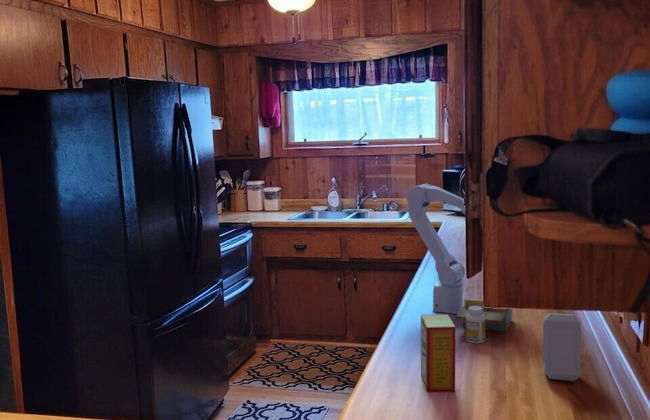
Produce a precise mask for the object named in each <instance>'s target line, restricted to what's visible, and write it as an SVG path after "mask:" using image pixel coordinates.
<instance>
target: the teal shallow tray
mask: <svg viewBox="0 0 650 420" xmlns="http://www.w3.org/2000/svg"><path fill="white" fill-rule="evenodd" d="M506 310H508V314H507V316H506V318H505V319H504V321H503V323H502V325H500V324H491V323H485V330H493V331H499V332H500V331H501V332H506V331H507V330H508V328H509V326H510V324H511V323H512V321H511V320H512V319H513V317H512V316H513V313H512V312H513V308H512V309H506ZM461 321H462V325H461V326H462V327H466V320H461ZM510 322H511V323H510Z"/></svg>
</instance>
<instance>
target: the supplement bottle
mask: <svg viewBox="0 0 650 420" xmlns="http://www.w3.org/2000/svg"><path fill="white" fill-rule="evenodd" d="M468 313H469V314H467V315H466V326H465V340H466V341H467V342H469V343H471V344H482V343H485V341H486V329H485V316H484V315H483V314H482V313H483V308H482V307H480V306H470V307H469V308H468Z"/></svg>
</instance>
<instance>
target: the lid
mask: <svg viewBox="0 0 650 420" xmlns="http://www.w3.org/2000/svg"><path fill="white" fill-rule="evenodd" d="M483 300H484V299H477V298H468V297H467V298H465V299H464V305H463V307H462V309H461V310H460V311H459V312H458V314H455V316H454V318H455V320H458V321H462V320H466V315H467V314H469V313H468V308H469V307H470V306H480V307H482V308H483V313H482V314H483V315H484V316H485V323H491V324H500V325H502V323H503V321H504V319H505V318H506V316H507V314H508V310H506V309H493V308H484V307H483Z"/></svg>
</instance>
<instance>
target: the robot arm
mask: <svg viewBox="0 0 650 420" xmlns="http://www.w3.org/2000/svg"><path fill="white" fill-rule="evenodd" d="M464 199H465V198H463V197H461V196H458V195H456V194H454V193H451V192H450V191H448V190H445V189H443V188H441V187H439V186H436V185H431V184H429V183H423V184H419V185H413V186H412V187H410V188H409V190H408V192H407V195H406V201H407V208H408V209H407V211H408V218H409V219H410V220H411V223H412V225H413V226H414V228H415V229H416V231H417V232H418V235H420V238H421V239H422V241H423V243H424V244H425V246H426V248H427V249H428V252H429V253H430V254H431V256H432V259H433V260H434V262H435V270H436V272H437V277H438V278H437V279H438V281H439V282H440V283H439V282H438V283H437V282H436V283H435V284H433V285H434V286H433V291H432V293H433V295H432V312H438V313H444V314H455V315H457V314H458V312H459V311H460V310H461V309H462V307H463V306H464V305H463V302H464V301H463V300H464V299H463V295H464V294H463V293H464V291H463V289H464V288H463V287H464V286H463V280H462V279H464V277H465V274H466V270H465V267H464V266H463V264H461V263H460V262H459V261H458V260H457V258H456V257H455V256H453V255H452V254H450V253H449V251H448V249H447V248H446V246H445V244H444V242H443V241H442V239H441V237H440V235H439V234H438V232H437V230H436V229H435V227H434V225H433V224H432V222H431V220H430V219H429V217H428V215H427V211H428V208H429V205H430V204H431V203H432V202H434V201H435V202H436V201H440V202H442V203H444V204H448V205H450V206H452V207H454V208H458V209H460V210H461V211H462V214H464V215H465V207H464Z"/></svg>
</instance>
